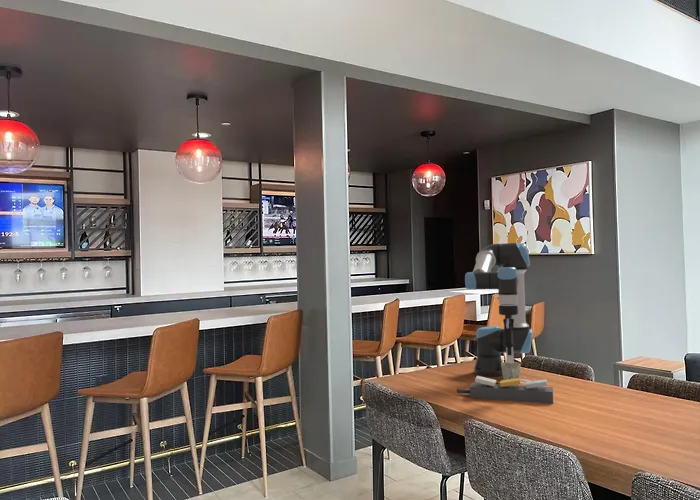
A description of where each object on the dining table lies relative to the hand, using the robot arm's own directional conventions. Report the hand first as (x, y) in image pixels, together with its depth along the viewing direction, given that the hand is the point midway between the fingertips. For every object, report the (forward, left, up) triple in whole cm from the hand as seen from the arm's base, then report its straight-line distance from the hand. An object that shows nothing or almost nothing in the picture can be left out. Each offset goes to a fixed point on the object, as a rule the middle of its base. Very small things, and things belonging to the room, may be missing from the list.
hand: (510, 362), depth 216 cm
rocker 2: (0, 0, -8) cm, 8 cm away
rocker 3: (0, +10, -8) cm, 13 cm away
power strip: (0, -3, -14) cm, 15 cm away
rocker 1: (0, -10, -8) cm, 13 cm away
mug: (-20, -1, -15) cm, 25 cm away
